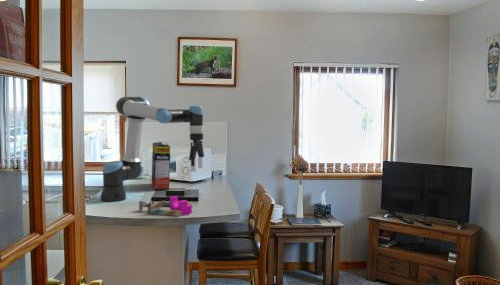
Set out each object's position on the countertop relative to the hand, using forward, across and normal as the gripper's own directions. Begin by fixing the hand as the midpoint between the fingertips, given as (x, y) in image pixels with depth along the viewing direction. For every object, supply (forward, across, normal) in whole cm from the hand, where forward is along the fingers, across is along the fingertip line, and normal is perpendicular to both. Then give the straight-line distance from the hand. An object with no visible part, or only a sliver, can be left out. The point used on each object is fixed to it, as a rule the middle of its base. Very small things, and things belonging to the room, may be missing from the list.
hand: (197, 169), depth 239 cm
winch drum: (+22, -13, +26) cm, 37 cm away
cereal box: (+21, +55, +45) cm, 74 cm away
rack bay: (+22, -9, +12) cm, 27 cm away
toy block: (+22, -10, +7) cm, 26 cm away
